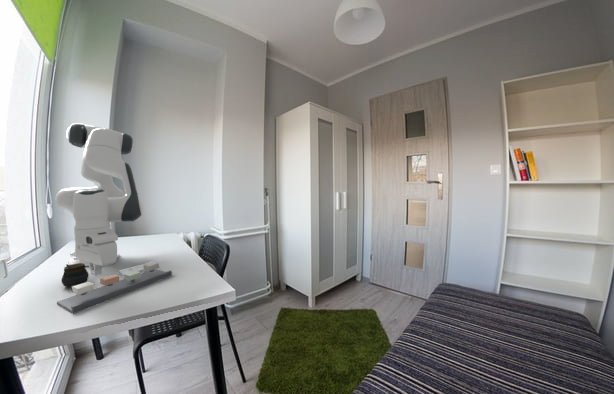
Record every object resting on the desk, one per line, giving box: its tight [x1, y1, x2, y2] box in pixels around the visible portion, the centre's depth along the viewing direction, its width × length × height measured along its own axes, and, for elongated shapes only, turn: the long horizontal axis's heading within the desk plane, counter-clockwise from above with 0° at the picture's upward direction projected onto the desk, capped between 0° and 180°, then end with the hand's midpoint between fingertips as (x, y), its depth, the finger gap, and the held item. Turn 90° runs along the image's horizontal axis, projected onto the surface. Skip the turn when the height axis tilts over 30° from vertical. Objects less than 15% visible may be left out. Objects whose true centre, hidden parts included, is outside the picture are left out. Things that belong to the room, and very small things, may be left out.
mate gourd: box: [61, 263, 90, 288], centre depth 83 cm, size 7×8×10 cm
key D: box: [123, 271, 141, 282], centre depth 83 cm, size 4×4×3 cm
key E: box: [99, 273, 120, 286], centre depth 77 cm, size 4×4×3 cm
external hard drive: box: [118, 261, 152, 277], centre depth 98 cm, size 2×8×12 cm
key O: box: [71, 281, 95, 295], centre depth 71 cm, size 4×4×3 cm
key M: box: [144, 261, 160, 272], centre depth 90 cm, size 4×4×3 cm
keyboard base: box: [56, 269, 173, 315], centre depth 80 cm, size 13×30×2 cm, turn 155°
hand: (96, 274), depth 73 cm, fingers closed
